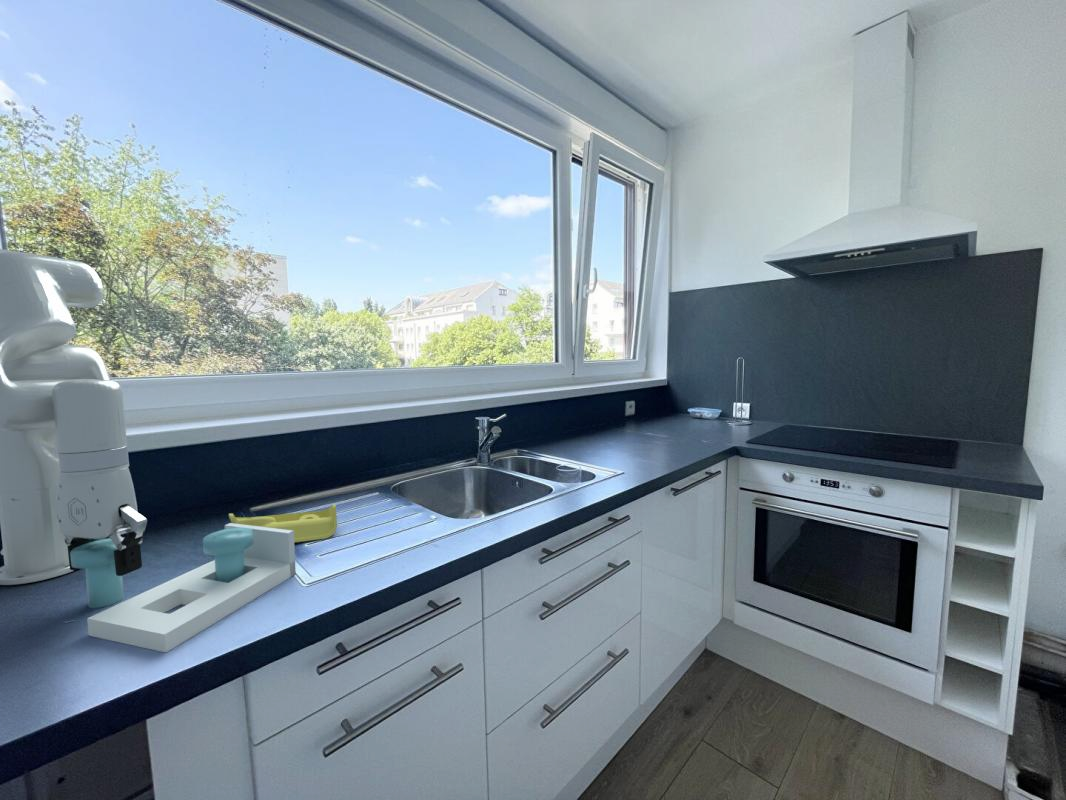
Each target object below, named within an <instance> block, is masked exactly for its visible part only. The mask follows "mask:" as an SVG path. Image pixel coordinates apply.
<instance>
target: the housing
mask: <svg viewBox="0 0 1066 800" xmlns="http://www.w3.org/2000/svg"><path fill="white" fill-rule="evenodd" d="M240 527H243V528H250V529H252V533H253V544H252V545H251V546H250V547H248V548H246V549H244V568H245V574H244V575H242V576H240V577H239V578H237V579H235V580H233V581H231V582H229V583H226V582H220V581H216V573H215V559H214V560H212V561H210V562H207V563H205V564H202V565H199V566H198V567H196V568H194V569H192V570H191V569H190V571H187V572H185V573H183V574H181V575H179V576H176V577H174V578H172V579H170V580H168V581H167V580H166V581H165V582H164V583H161V584H159V585H157V586H155V587H152V588H151V589H148V590H146V591H144V592H142V593H140V594H137V595H135V596H133V597H131V598H128V599H126V600H124V601H122V602H120V603H118V604H116V605H114V606H111V607H108V608H107V609H105V610H102V611H100V612H98V613H95V614H93V615H92V616H90V617H88V618H86V620H87V630H88V631H87V632H88V636H90V637H94V638H98V639H102V640H107V641H112V642H116V643H121V644H124V645H125V644H126V645H131V646H134V647H139V648H143V649H149V650H153V651H156V652H160V653H165V654H166V653H168V652H170V651H172V650H173V649H175V648H176V647H178V646H180V645H181V644H182V643H185V642H187V641H188V640H189V639H192V638H193V637H195V636H196V635H198V634H199V633H201V632H202V631H204V630H206V629H208V628H209V627H211V626H213V625H214V624H216V623H218V622H219V621H221V620H222V619H224V618H226V617H227V616H229V615H231V614H232V613H234V612H236V611H237V610H239V609H241V608H242V607H244V606H246V605H247V604H248V603H250V602H252V601H254V600H255V599H257V598H259V597H260V596H262V595H263V594H265V593H267V592H269V591H270V590H273V588H276V587H278V585H280V584H282V583H283V582H286V581H287V580H288V579H290V578H292V577H293V576H295V575H296V571H297V570H296V550H295V543H294V531H293V530H284V529H276V528H268V527H259V526H251V525H243V524H234V523H232V522H229V523H226V524H224V529H230V528H240ZM180 605H183V606H182V607H180V608H178V609H177V610H175V611H173V612H171V613H167V612H169V611H170V610H172V609H174V608H176V607H179V606H180Z"/></svg>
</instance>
